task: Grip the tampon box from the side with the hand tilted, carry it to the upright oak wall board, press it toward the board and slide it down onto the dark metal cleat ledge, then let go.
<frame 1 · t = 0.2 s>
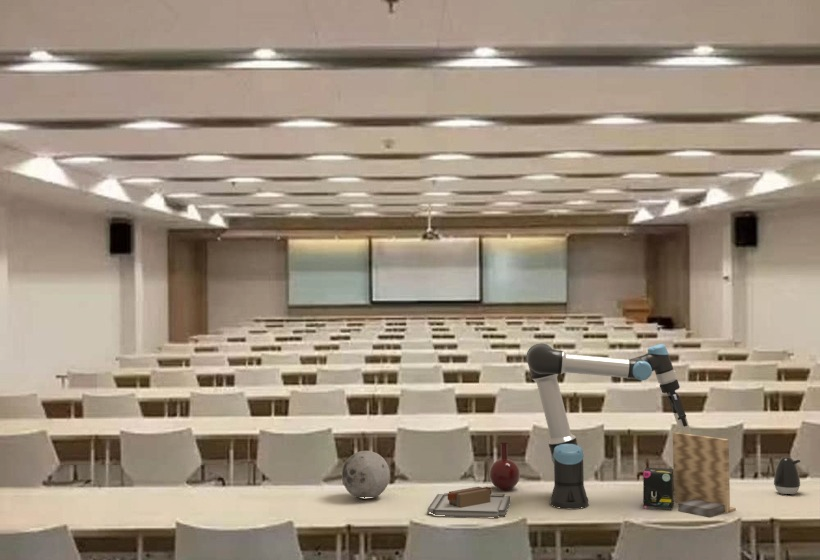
hand: (684, 430, 412), 27 cm above the table, tool tilted 20°, fingers open, 13 cm apart
round-bottom flask: (505, 490, 433), on the table
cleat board: (701, 507, 394), on the table
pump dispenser: (787, 494, 415), on the table
moon model: (366, 499, 421), on the table
grey tray with block: (470, 510, 400), on the table
tampon box: (658, 507, 396), on the table
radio: (680, 488, 431), on the table
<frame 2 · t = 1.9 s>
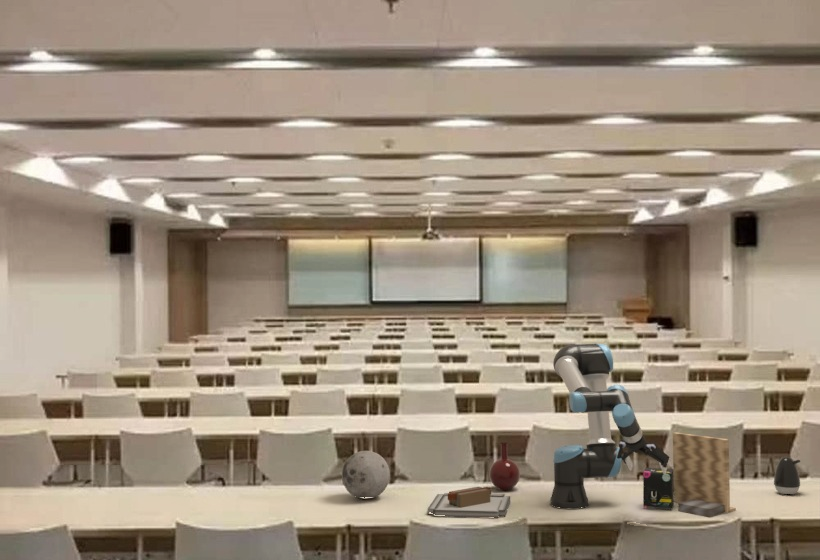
hand: (648, 469, 388), 17 cm above the table, tool tilted 45°, fingers open, 13 cm apart
nothing on the table moved.
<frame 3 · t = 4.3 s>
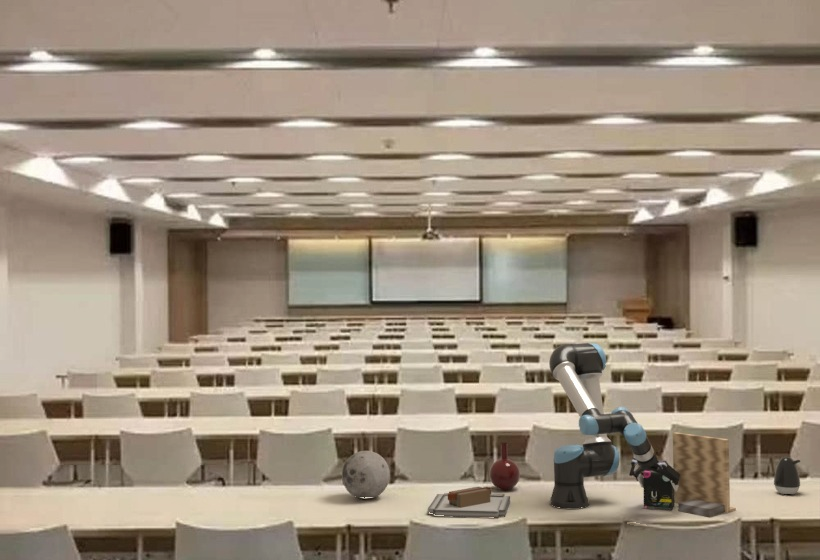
hand: (660, 486, 395), 8 cm above the table, tool tilted 45°, fingers open, 13 cm apart
nothing on the table moved.
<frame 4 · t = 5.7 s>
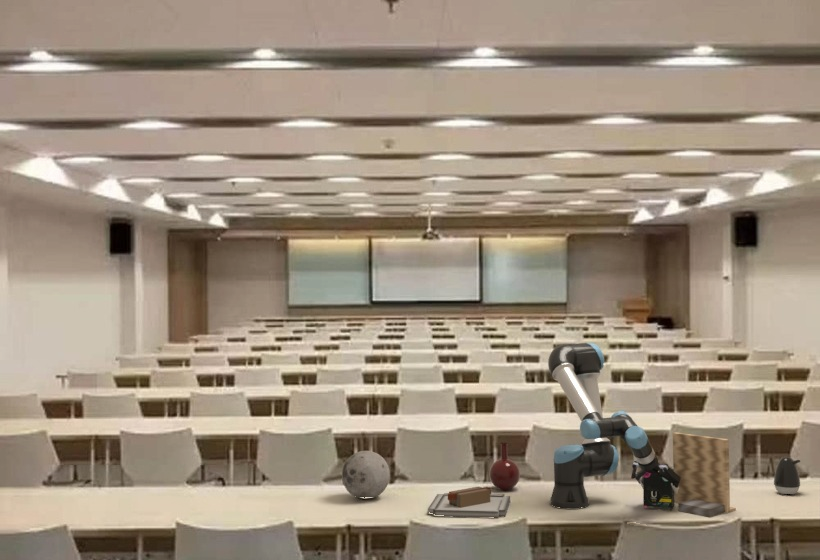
hand: (661, 489, 398), 7 cm above the table, tool tilted 45°, fingers closed on tampon box, 12 cm apart
tampon box: (659, 507, 396), on the table, touching gripper
everything else where it was.
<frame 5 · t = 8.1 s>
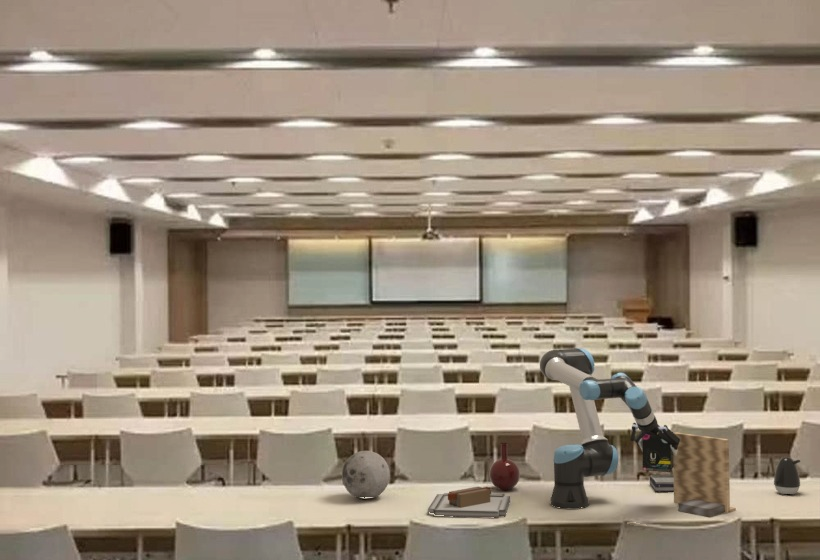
hand: (660, 451, 398), 21 cm above the table, tool tilted 45°, fingers closed on tampon box, 12 cm apart
tampon box: (658, 469, 396), point 15 cm above the table, touching gripper
everything else where it was.
when the fingers open (14 cm above the table, at t = 10.5 s): tampon box drops 5 cm, resting on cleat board.
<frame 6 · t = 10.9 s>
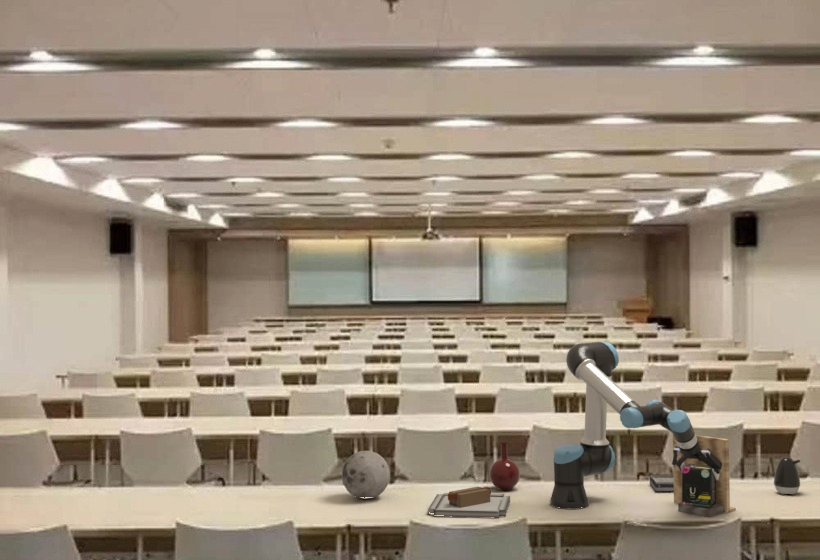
hand: (702, 475, 389), 14 cm above the table, tool tilted 45°, fingers open, 12 cm apart
tampon box: (699, 504, 386), point 3 cm above the table, touching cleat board
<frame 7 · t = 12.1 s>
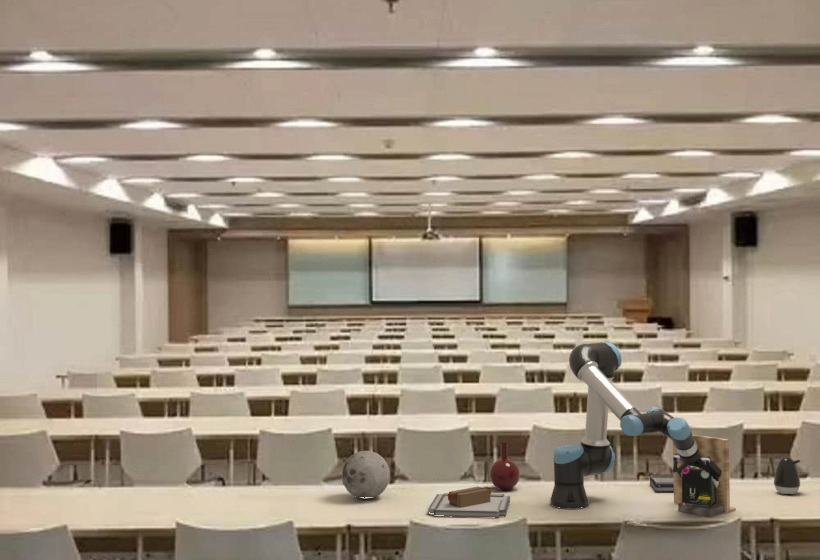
hand: (701, 482, 389), 11 cm above the table, tool tilted 45°, fingers closed on tampon box, 11 cm apart
tampon box: (699, 505, 386), point 3 cm above the table, touching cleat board, gripper
when the fingers open (11 cm above the table, at t = 12.4 s): tampon box stays where it is, resting on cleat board.
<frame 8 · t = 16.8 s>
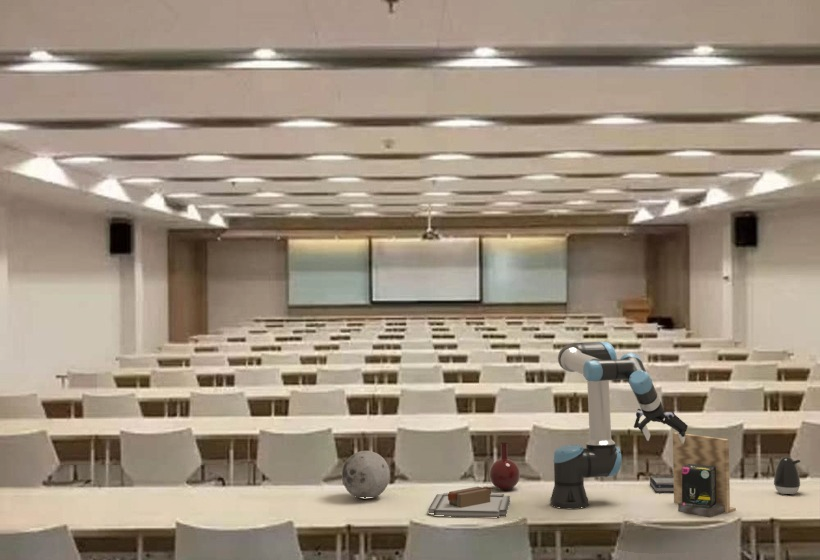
hand: (666, 439, 379), 30 cm above the table, tool tilted 45°, fingers open, 13 cm apart
tampon box: (699, 505, 386), point 3 cm above the table, touching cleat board
at the end: tampon box inside the target area on the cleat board (0.8 cm from its centre), point 2.8 cm above the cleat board's base; tampon box tilted 0°; the gripper is holding nothing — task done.
